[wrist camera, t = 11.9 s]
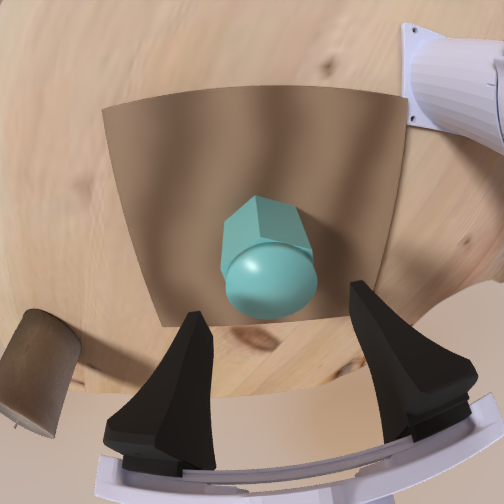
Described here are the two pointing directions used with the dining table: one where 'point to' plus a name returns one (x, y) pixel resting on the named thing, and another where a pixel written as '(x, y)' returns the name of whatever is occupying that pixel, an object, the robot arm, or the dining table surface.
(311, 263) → the cap
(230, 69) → the dining table surface
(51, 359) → the pillar candle
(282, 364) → the dining table surface
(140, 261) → the brown flat square slab
